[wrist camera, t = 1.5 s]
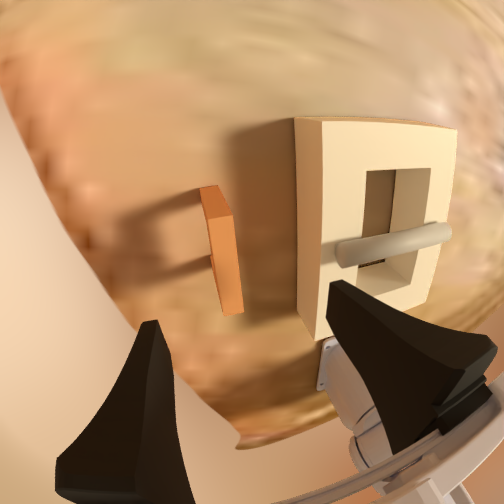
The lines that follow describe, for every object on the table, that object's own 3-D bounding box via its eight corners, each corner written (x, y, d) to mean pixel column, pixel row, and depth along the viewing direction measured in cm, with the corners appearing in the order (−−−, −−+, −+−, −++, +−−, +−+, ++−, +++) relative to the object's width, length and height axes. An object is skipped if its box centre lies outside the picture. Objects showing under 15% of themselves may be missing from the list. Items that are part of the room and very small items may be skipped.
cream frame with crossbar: (401, 280, 27) (435, 312, 23) (296, 310, 25) (322, 355, 21) (422, 121, 19) (473, 134, 15) (294, 117, 17) (336, 123, 13)
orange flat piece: (228, 264, 21) (244, 312, 17) (212, 267, 21) (223, 316, 17) (217, 185, 18) (232, 215, 14) (199, 188, 18) (207, 219, 14)
